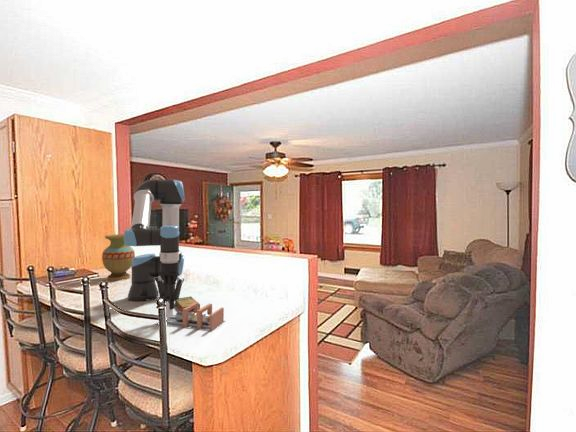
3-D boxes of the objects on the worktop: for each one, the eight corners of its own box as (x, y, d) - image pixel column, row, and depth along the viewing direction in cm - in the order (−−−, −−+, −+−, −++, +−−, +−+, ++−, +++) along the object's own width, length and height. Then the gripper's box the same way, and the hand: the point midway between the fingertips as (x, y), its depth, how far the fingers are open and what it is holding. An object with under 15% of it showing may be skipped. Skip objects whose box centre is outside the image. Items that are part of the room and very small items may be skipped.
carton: (182, 316, 138) (182, 306, 138) (174, 306, 152) (174, 298, 152) (200, 312, 143) (200, 303, 143) (191, 303, 156) (191, 295, 156)
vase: (116, 282, 197) (116, 237, 196) (95, 280, 204) (95, 235, 203) (141, 276, 215) (141, 234, 215) (120, 274, 222) (120, 233, 222)
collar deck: (154, 327, 124) (154, 307, 124) (172, 317, 136) (172, 299, 136) (211, 334, 118) (211, 313, 117) (225, 323, 129) (225, 304, 129)
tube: (174, 322, 126) (175, 312, 127) (180, 319, 130) (181, 310, 130) (209, 326, 122) (209, 316, 122) (214, 323, 126) (214, 314, 126)
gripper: (150, 262, 127) (150, 317, 128) (178, 264, 124) (177, 321, 125) (161, 259, 134) (161, 312, 135) (188, 261, 131) (187, 314, 132)
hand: (169, 316), depth 130 cm, fingers closed
